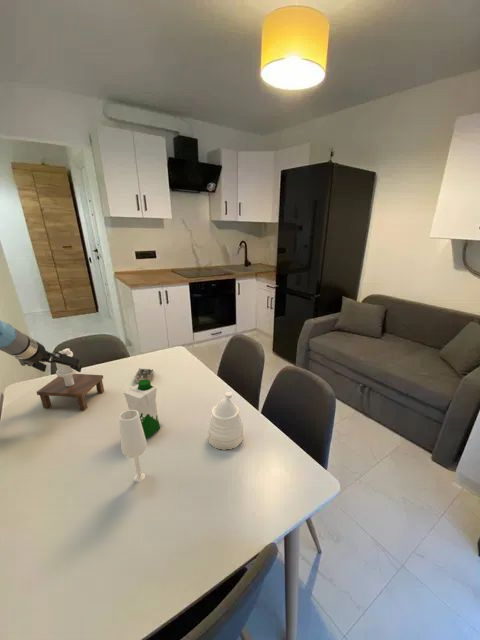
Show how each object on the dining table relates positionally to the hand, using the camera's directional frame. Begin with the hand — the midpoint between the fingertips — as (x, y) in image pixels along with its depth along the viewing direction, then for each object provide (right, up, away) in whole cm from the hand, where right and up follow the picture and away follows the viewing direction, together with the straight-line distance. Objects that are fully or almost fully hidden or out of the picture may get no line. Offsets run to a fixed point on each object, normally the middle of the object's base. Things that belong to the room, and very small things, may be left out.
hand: (62, 368), depth 116 cm
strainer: (0, -7, +5) cm, 8 cm away
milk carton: (+37, -23, -8) cm, 44 cm away
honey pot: (+67, -25, -9) cm, 72 cm away
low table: (-1, -14, +9) cm, 16 cm away
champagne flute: (+43, -32, -28) cm, 61 cm away
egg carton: (+22, -7, +27) cm, 36 cm away
